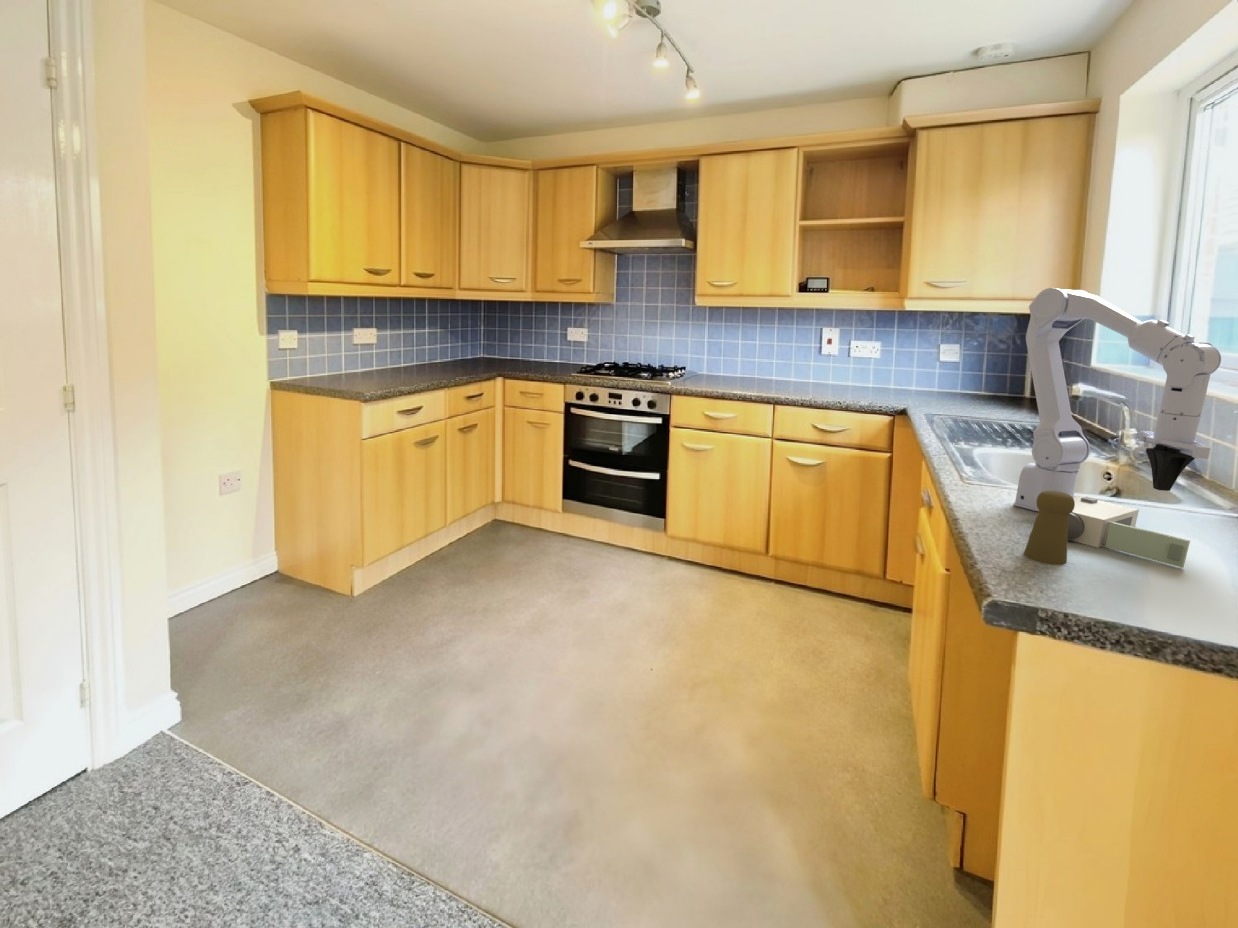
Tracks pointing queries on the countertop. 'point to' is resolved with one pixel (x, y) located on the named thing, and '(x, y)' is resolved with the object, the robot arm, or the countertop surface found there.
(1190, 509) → the countertop surface
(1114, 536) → the side door
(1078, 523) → the camera box
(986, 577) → the countertop surface
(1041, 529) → the cork
